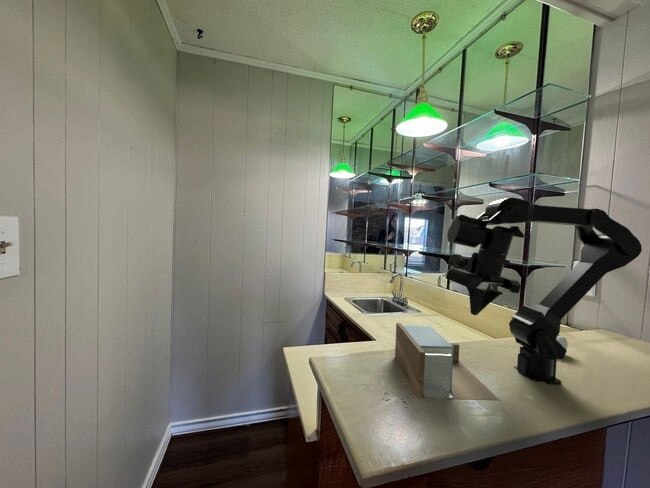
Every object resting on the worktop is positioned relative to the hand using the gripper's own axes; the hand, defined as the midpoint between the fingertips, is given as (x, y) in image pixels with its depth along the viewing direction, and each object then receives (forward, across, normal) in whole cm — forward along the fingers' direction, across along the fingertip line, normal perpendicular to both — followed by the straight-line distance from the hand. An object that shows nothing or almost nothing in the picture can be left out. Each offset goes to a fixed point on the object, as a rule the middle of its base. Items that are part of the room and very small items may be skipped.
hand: (473, 314), depth 64 cm
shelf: (+15, +8, +3) cm, 17 cm away
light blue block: (+15, +11, +1) cm, 19 cm away
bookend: (+14, +15, +8) cm, 22 cm away
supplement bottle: (+6, -32, +5) cm, 33 cm away
